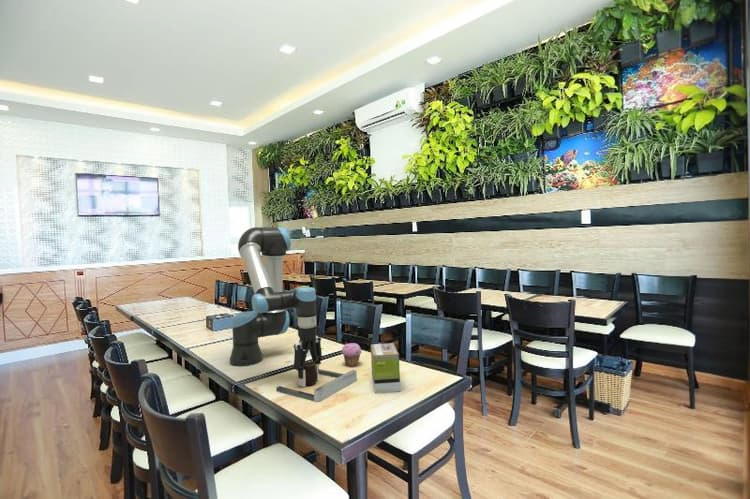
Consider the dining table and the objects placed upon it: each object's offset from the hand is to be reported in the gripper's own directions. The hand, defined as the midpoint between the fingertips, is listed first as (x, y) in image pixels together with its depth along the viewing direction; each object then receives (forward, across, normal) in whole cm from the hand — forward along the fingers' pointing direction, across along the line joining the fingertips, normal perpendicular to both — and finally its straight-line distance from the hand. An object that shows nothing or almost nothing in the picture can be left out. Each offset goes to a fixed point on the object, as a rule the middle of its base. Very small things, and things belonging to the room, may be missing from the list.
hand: (309, 382), depth 159 cm
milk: (+1, +31, +27) cm, 41 cm away
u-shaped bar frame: (0, 0, -5) cm, 5 cm away
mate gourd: (0, 0, 0) cm, 0 cm away
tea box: (+1, +13, -28) cm, 31 cm away
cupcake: (+1, +27, -2) cm, 27 cm away
